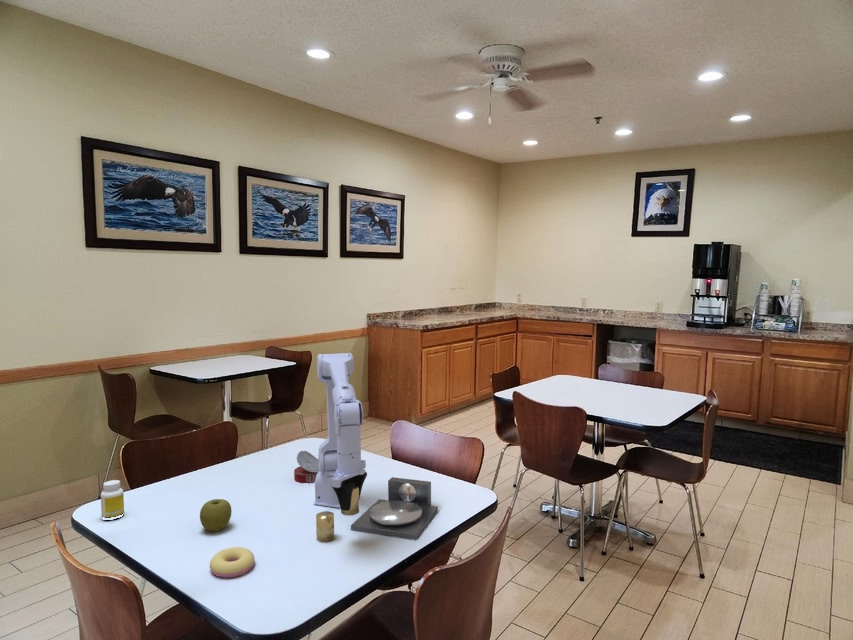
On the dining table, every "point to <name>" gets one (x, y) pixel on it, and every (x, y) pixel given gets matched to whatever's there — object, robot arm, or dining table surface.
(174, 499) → the dining table surface
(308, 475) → the canned food
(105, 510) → the supplement bottle
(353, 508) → the cylinder
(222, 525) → the apple
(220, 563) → the donut
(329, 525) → the cylinder
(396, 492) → the scale
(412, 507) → the scale pan
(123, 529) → the dining table surface
